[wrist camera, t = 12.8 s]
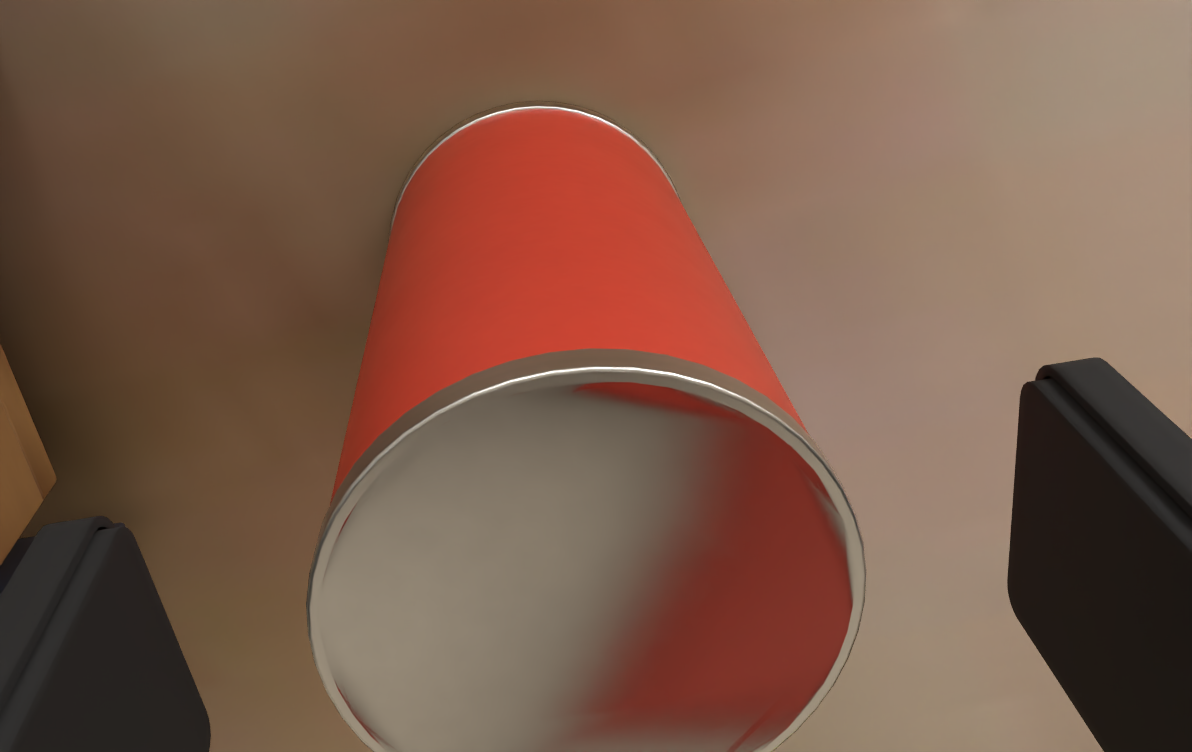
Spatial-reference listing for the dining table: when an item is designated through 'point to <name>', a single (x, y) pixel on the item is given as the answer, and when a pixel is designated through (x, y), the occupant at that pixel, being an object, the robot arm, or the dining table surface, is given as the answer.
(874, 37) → the dining table surface
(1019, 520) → the robot arm
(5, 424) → the drawer
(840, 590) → the tin can
